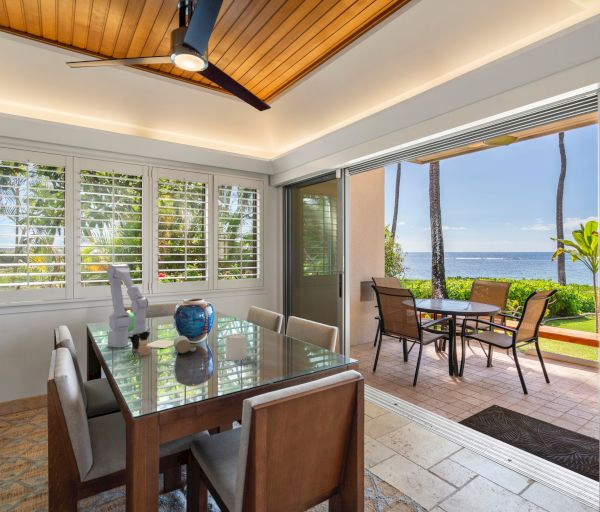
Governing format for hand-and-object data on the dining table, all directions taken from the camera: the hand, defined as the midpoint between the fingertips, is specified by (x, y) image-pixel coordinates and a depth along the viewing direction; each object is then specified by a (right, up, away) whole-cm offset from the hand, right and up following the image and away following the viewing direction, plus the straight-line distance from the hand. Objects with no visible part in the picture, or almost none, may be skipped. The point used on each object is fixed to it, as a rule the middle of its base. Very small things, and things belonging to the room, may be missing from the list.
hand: (139, 347), depth 188 cm
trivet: (+7, -1, +12) cm, 14 cm away
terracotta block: (+6, -2, -8) cm, 10 cm away
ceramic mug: (+24, -2, -2) cm, 24 cm away
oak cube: (0, -1, 0) cm, 1 cm away
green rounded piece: (-22, -1, +35) cm, 41 cm away
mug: (+52, -2, -10) cm, 53 cm away
